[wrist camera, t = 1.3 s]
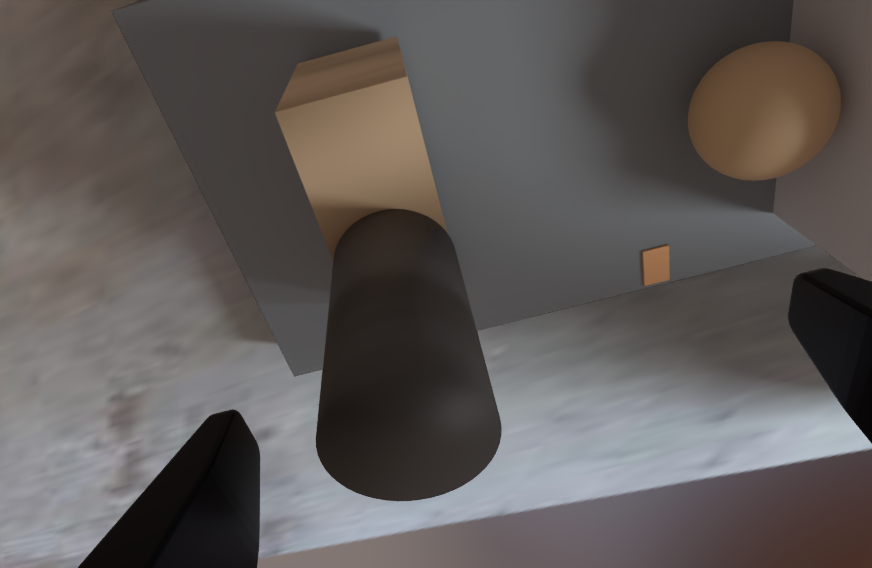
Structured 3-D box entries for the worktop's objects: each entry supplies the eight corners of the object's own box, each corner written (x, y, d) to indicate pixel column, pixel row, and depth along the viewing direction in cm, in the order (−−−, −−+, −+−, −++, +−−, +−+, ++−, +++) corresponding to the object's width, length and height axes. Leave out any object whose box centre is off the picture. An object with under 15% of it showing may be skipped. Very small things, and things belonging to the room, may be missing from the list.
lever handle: (463, 286, 22) (536, 562, 12) (381, 307, 22) (391, 596, 13) (400, 35, 17) (441, 182, 8) (294, 64, 17) (206, 243, 8)
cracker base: (847, 207, 24) (1030, 318, 18) (299, 346, 25) (274, 501, 19) (922, -220, 17) (1295, -311, 10) (135, 2, 18) (-7, 55, 11)
